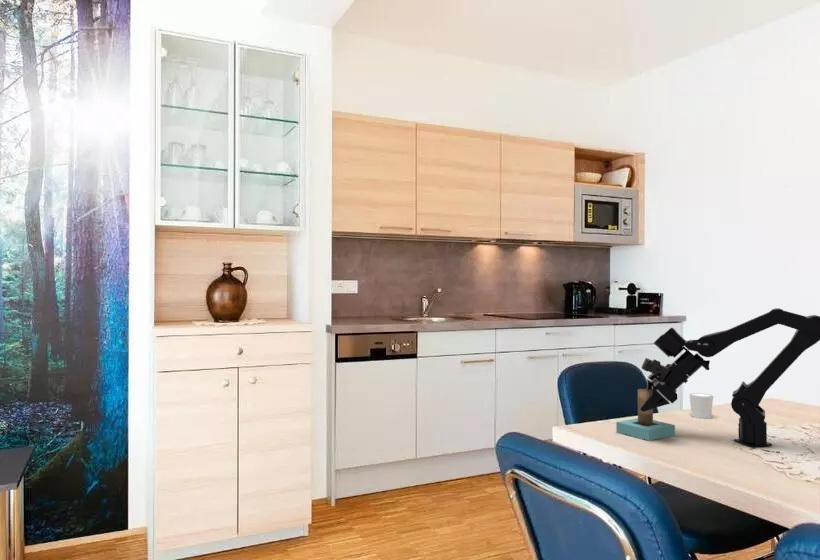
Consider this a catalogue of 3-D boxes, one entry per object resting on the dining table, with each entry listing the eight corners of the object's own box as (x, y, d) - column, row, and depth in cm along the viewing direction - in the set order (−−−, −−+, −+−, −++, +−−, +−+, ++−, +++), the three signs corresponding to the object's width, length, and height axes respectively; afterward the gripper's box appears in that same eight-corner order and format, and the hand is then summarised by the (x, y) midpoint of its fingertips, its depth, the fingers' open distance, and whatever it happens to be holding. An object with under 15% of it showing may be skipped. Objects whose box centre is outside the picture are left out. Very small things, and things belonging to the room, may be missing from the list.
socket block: (674, 435, 168) (674, 424, 168) (648, 440, 163) (648, 429, 163) (642, 427, 178) (642, 417, 178) (616, 432, 172) (616, 422, 172)
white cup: (689, 417, 191) (688, 395, 191) (690, 413, 197) (690, 392, 197) (713, 419, 187) (712, 397, 187) (713, 415, 193) (713, 393, 194)
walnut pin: (656, 435, 168) (655, 391, 169) (643, 436, 168) (642, 391, 168) (648, 432, 172) (647, 388, 172) (635, 432, 172) (634, 389, 172)
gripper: (655, 345, 178) (616, 381, 181) (663, 352, 160) (620, 392, 163) (684, 372, 176) (644, 408, 179) (696, 383, 158) (651, 422, 161)
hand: (639, 407), depth 171 cm, fingers open, 9 cm apart
